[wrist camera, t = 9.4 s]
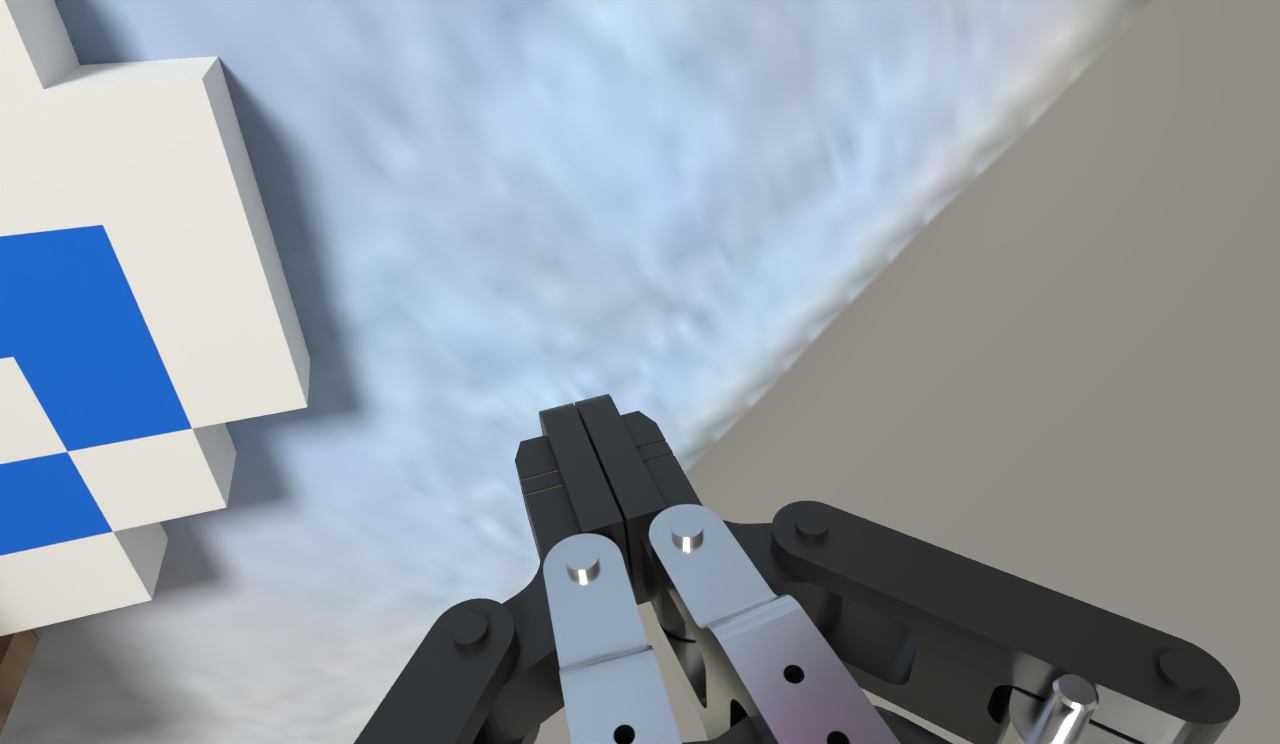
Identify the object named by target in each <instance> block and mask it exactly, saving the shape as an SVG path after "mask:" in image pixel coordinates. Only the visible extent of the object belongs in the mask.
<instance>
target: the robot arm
mask: <svg viewBox="0 0 1280 744" xmlns="http://www.w3.org/2000/svg"><path fill="white" fill-rule="evenodd" d="M539 417H540V423H541V428H542V433H543V436H541V437H537V438H533V439H529V440H525V441H521V442H520V445H519V449H518V452H517V455H516V459H515V463H516V467H517V472H518V476H519V480H520V485H521V489H522V493H523V498H524V502H525V507H526V511H527V515H528V518H529V522H530V526H531V529H532V533H533V537H534V540H535V544H536V547H537V551H538V555H539V558H540V566H539V569H538V571H537V574H536V575H535V577H534V579H533V580H532V581H531V582H530V584H529V585H528V586H527V587H526V588H524V589H523V590H522V591H521V592H519V593H518V594H517V595H515V596H514V597H512V598H510V599H509V600H507V601H506V602H504V603H503V604H501V603H499V602H497V601H494V600H490V599H481V598H478V599H471V600H467V601H464V602H461V603H459V604H456V605H455V606H453V607H451V608H450V609H448V610H447V611H446V612H444V613H443V614H442V615H441V616H440V617H439V618H438V619H437V621H436V622H435V623H434V625H433V626H432V628H431V629H430V631H429V632H428V634H427V635H426V637H425V638H424V640H423V641H422V643H421V644H420V646H419V647H418V649H417V650H416V652H415V653H414V655H413V656H412V658H411V659H410V661H409V662H408V664H407V665H406V666H405V668H404V669H403V671H402V672H401V674H400V675H399V677H398V678H397V680H396V681H395V683H394V684H393V686H392V687H391V689H390V690H389V692H388V693H387V695H386V696H385V698H384V699H383V701H382V702H381V704H380V705H379V707H378V708H377V710H376V711H375V713H374V714H373V716H372V717H371V719H370V720H369V722H368V723H367V725H366V726H365V728H364V729H363V731H362V732H361V734H360V735H359V737H358V738H357V740H356V741H355V743H354V744H534V742H535V740H536V738H537V735H538V732H539V728H540V724H541V723H542V722H544V721H545V720H547V719H548V718H549V717H550V716H552V715H553V714H555V713H556V712H557V711H559V710H560V709H561V708H563V707H564V706H565V709H566V715H567V721H568V727H569V732H570V739H571V744H952V743H950V742H948V741H947V740H945V739H943V738H941V737H939V736H937V735H936V734H934V733H932V732H930V731H928V730H926V729H925V728H923V727H921V726H919V725H917V724H915V723H913V722H912V721H910V720H908V719H906V718H904V717H902V716H900V715H898V714H896V713H894V712H891V711H889V710H886V709H884V708H881V707H878V706H874V705H872V704H871V702H870V701H869V699H868V698H867V697H866V695H865V694H864V692H863V691H862V690H861V688H863V689H865V690H867V691H869V692H871V693H873V694H875V695H877V696H879V697H881V698H883V699H885V700H887V701H889V702H891V703H893V704H895V705H897V706H899V707H901V708H903V709H905V710H908V711H909V712H911V713H913V714H915V715H918V716H919V717H921V718H923V719H925V720H927V721H929V722H931V723H933V724H935V725H937V726H939V727H941V728H944V729H945V730H947V731H950V732H952V733H954V734H956V735H958V736H960V737H962V738H964V739H966V740H968V741H970V742H972V743H974V744H1214V743H1215V741H1216V740H1217V739H1218V737H1219V736H1220V735H1221V733H1222V732H1223V731H1224V729H1225V728H1226V727H1227V725H1228V724H1229V722H1230V721H1231V719H1232V718H1233V717H1234V716H1235V714H1236V713H1237V711H1238V709H1239V706H1240V695H1239V690H1238V688H1237V685H1236V683H1235V681H1234V680H1233V678H1232V676H1231V675H1230V674H1229V672H1228V671H1227V670H1226V669H1225V668H1224V666H1223V665H1221V664H1220V662H1219V661H1217V660H1216V659H1215V658H1214V657H1212V656H1211V655H1210V654H1209V653H1207V652H1206V651H1204V650H1203V649H1201V648H1199V647H1197V646H1196V645H1194V644H1192V643H1190V642H1187V641H1185V640H1183V639H1180V638H1178V637H1175V636H1172V635H1169V634H1167V633H1164V632H1162V631H1159V630H1156V629H1154V628H1151V627H1148V626H1146V625H1143V624H1141V623H1138V622H1135V621H1133V620H1130V619H1127V618H1125V617H1122V616H1120V615H1117V614H1114V613H1112V612H1109V611H1106V610H1104V609H1101V608H1098V607H1096V606H1093V605H1090V604H1088V603H1085V602H1083V601H1080V600H1077V599H1074V598H1072V597H1069V596H1067V595H1064V594H1062V593H1059V592H1056V591H1054V590H1051V589H1048V588H1046V587H1043V586H1040V585H1038V584H1035V583H1033V582H1030V581H1027V580H1025V579H1022V578H1019V577H1017V576H1014V575H1011V574H1009V573H1006V572H1003V571H1001V570H998V569H995V568H993V567H990V566H987V565H985V564H982V563H980V562H977V561H975V560H972V559H969V558H966V557H964V556H961V555H959V554H956V553H954V552H951V551H948V550H946V549H943V548H940V547H937V546H935V545H932V544H930V543H927V542H924V541H921V540H919V539H917V538H914V537H911V536H908V535H906V534H903V533H901V532H898V531H895V530H893V529H890V528H887V527H885V526H882V525H880V524H877V523H874V522H872V521H869V520H867V519H864V518H861V517H859V516H856V515H853V514H850V513H848V512H845V511H843V510H840V509H838V508H835V507H832V506H830V505H827V504H824V503H821V502H815V501H799V502H794V503H791V504H788V505H787V506H785V507H783V508H782V509H780V510H779V511H778V512H777V514H776V515H775V517H774V519H773V522H772V523H764V524H763V523H762V524H739V523H732V522H728V521H725V520H722V519H721V518H720V517H719V516H718V515H717V514H716V513H715V512H714V511H712V510H710V509H708V508H706V507H703V505H702V504H701V502H700V500H699V499H698V497H697V495H696V493H695V492H694V490H693V488H692V486H691V484H690V483H689V481H688V479H687V477H686V475H685V474H684V472H683V470H682V468H681V467H680V465H679V463H678V461H677V459H676V458H675V456H673V452H672V450H671V449H670V447H669V445H668V443H667V442H666V441H665V438H664V436H663V434H662V433H661V431H660V429H659V427H658V425H657V424H656V422H654V421H653V420H651V419H650V418H648V417H647V416H645V415H644V414H642V413H641V412H640V411H636V412H632V413H628V414H624V415H621V416H620V414H619V412H618V410H617V408H616V406H615V404H614V402H613V400H612V398H611V396H610V395H609V394H606V395H602V396H598V397H594V398H590V399H586V400H582V401H578V402H575V406H574V404H573V403H571V404H567V405H563V406H559V407H555V408H551V409H547V410H543V411H539ZM635 601H636V602H635ZM648 601H651V603H652V606H653V608H654V611H655V613H656V616H657V625H658V633H659V636H660V639H661V641H662V643H663V645H664V647H665V649H666V651H667V653H668V654H669V657H670V659H671V661H672V663H673V665H674V667H675V669H676V670H677V673H678V675H679V677H680V679H681V681H682V683H683V685H684V686H685V688H686V690H687V692H688V694H689V696H690V698H691V700H692V702H693V704H694V706H695V708H696V710H697V712H698V714H699V716H700V718H701V720H702V723H703V725H704V728H705V731H706V734H707V738H708V741H698V742H687V743H682V742H681V739H680V736H679V732H678V729H677V726H676V722H675V719H674V716H673V712H672V709H671V706H670V702H669V699H668V695H667V692H666V689H665V685H664V682H663V679H662V676H661V672H660V668H659V665H658V662H657V659H656V656H655V653H654V650H653V648H652V646H651V645H650V646H649V645H648V642H647V639H646V636H645V633H644V629H643V626H642V622H641V619H640V616H639V612H638V608H637V605H639V604H642V603H645V602H648ZM636 604H637V605H636ZM860 687H861V688H860Z"/></svg>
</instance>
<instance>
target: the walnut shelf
mask: <svg viewBox="0 0 1280 744" xmlns="http://www.w3.org/2000/svg"><path fill="white" fill-rule="evenodd" d="M38 640H39V639H38V638H37V637H36V636H35V635H34V633H33V632H32V631H31V630H30V629H29V630H25V631H20V632H16V633H12V634H8V635H4V636H0V734H1V732H2V729H3V727H4V724H5V722H6V719H7V717H8V714H9V712H10V709H11V707H12V704H13V702H14V699H15V697H16V695H17V692H18V690H19V687H20V685H21V682H22V680H23V677H24V675H25V672H26V670H27V667H28V665H29V662H30V660H31V657H32V655H33V652H34V650H35V647H36V645H37V642H38Z"/></svg>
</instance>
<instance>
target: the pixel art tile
mask: <svg viewBox="0 0 1280 744" xmlns="http://www.w3.org/2000/svg"><path fill="white" fill-rule="evenodd" d="M309 374H310V356H309V353H308V350H307V346H306V343H305V340H304V337H303V333H302V330H301V327H300V323H299V320H298V317H297V314H296V310H295V307H294V304H293V300H292V297H291V294H290V291H289V287H288V284H287V281H286V277H285V274H284V271H283V268H282V264H281V261H280V258H279V254H278V251H277V248H276V245H275V241H274V238H273V235H272V231H271V228H270V225H269V222H268V218H267V215H266V212H265V208H264V205H263V202H262V199H261V195H260V192H259V189H258V185H257V182H256V179H255V176H254V172H253V169H252V166H251V162H250V159H249V156H248V153H247V149H246V146H245V143H244V139H243V136H242V133H241V130H240V126H239V123H238V120H237V116H236V113H235V110H234V107H233V103H232V100H231V97H230V93H229V90H228V87H227V84H226V80H225V77H224V74H223V70H222V67H221V64H220V61H219V57H218V56H217V57H201V58H185V59H169V60H153V61H137V62H121V63H105V64H88V65H80V63H79V61H78V58H77V56H76V53H75V51H74V48H73V46H72V43H71V41H70V38H69V36H68V33H67V31H66V29H65V26H64V24H63V21H62V19H61V16H60V14H59V11H58V9H57V6H56V4H55V1H54V0H0V636H4V635H8V634H12V633H16V632H20V631H25V630H29V629H33V628H37V627H41V626H46V625H50V624H54V623H58V622H62V621H66V620H71V619H75V618H79V617H83V616H87V615H92V614H96V613H100V612H104V611H108V610H113V609H117V608H121V607H125V606H129V605H133V604H138V603H142V602H146V601H150V600H152V598H153V595H154V591H155V587H156V583H157V580H158V576H159V572H160V568H161V564H162V561H163V557H164V553H165V549H166V546H167V542H168V537H167V535H166V533H165V531H164V529H163V527H162V525H161V523H160V522H161V521H166V520H170V519H175V518H180V517H184V516H189V515H194V514H198V513H203V512H208V511H212V510H217V509H222V508H226V507H227V503H228V498H229V492H230V487H231V481H232V476H233V470H234V465H235V460H236V454H237V451H236V449H235V446H234V444H233V441H232V439H231V436H230V434H229V432H228V429H227V427H226V424H225V422H231V421H236V420H242V419H247V418H252V417H258V416H263V415H269V414H274V413H279V412H285V411H290V410H296V409H301V408H306V407H307V406H308V390H309Z"/></svg>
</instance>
